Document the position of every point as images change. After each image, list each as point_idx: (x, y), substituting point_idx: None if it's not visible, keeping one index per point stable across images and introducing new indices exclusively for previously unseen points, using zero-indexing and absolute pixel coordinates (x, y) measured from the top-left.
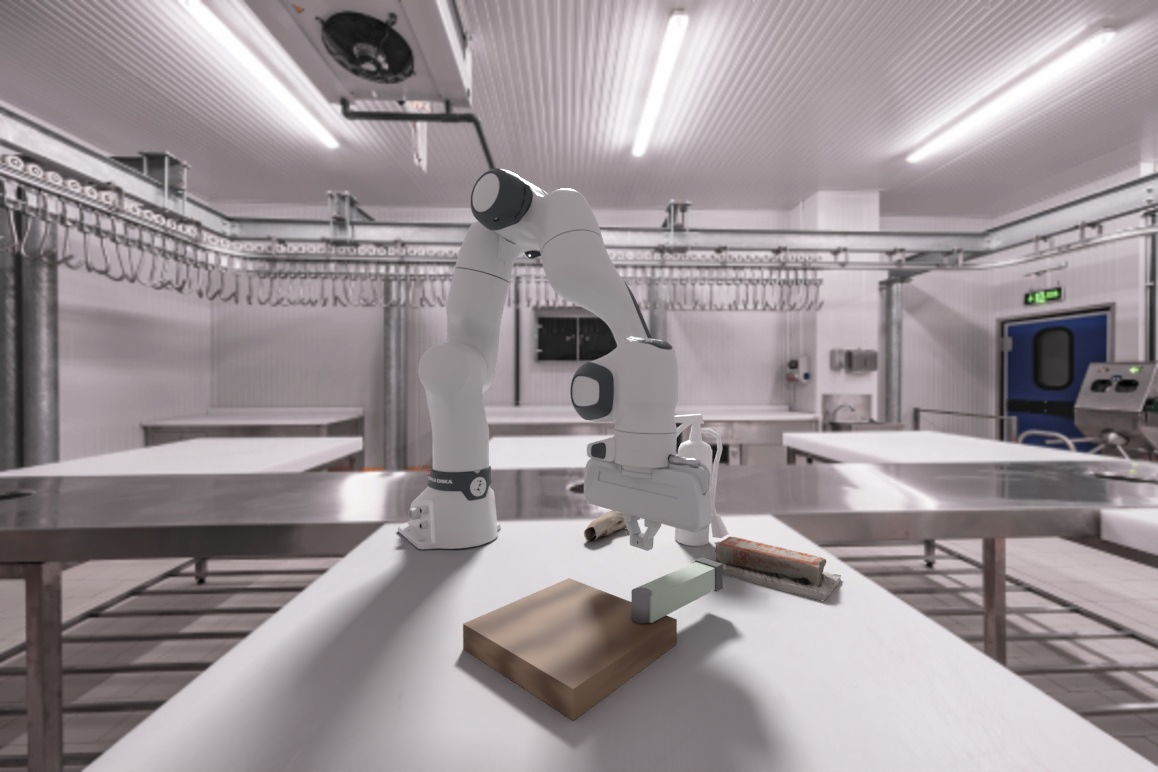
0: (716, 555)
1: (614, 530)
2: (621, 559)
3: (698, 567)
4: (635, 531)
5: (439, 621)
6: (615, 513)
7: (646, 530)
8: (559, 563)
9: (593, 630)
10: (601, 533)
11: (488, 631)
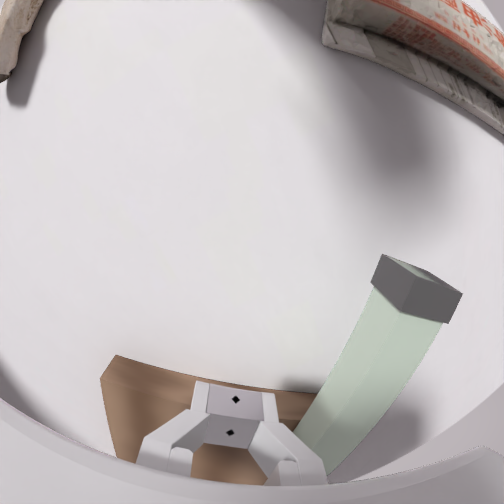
0: (341, 13)
1: (39, 6)
2: (87, 103)
3: (407, 345)
4: (200, 438)
5: (70, 433)
6: None
7: (268, 477)
8: (10, 218)
9: (251, 474)
10: (16, 51)
11: None
